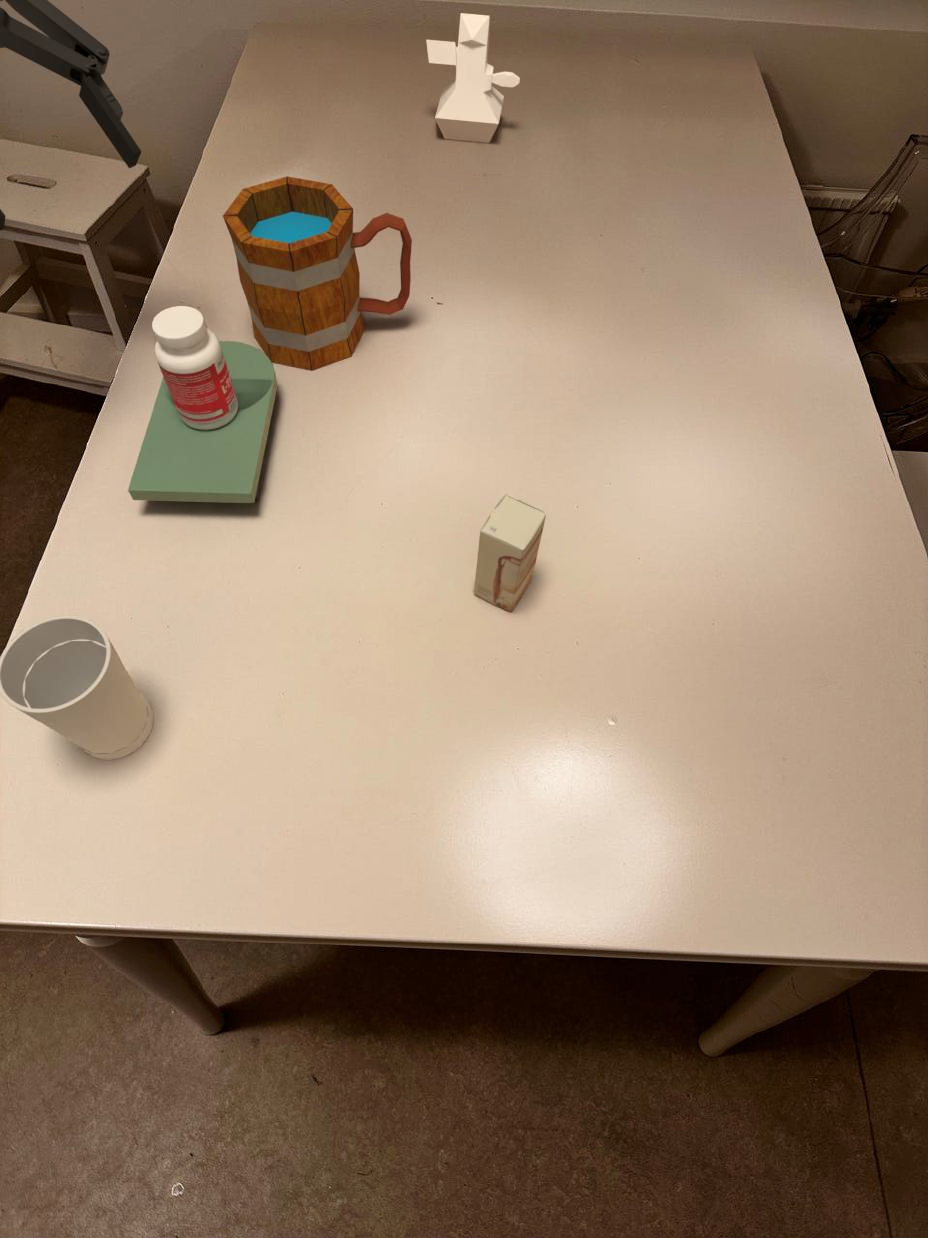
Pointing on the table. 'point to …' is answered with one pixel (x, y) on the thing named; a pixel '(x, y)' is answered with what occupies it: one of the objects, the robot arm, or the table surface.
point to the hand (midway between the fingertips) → (71, 191)
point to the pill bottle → (194, 368)
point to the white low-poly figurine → (470, 83)
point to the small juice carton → (508, 551)
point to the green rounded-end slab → (210, 440)
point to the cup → (76, 686)
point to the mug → (306, 269)
